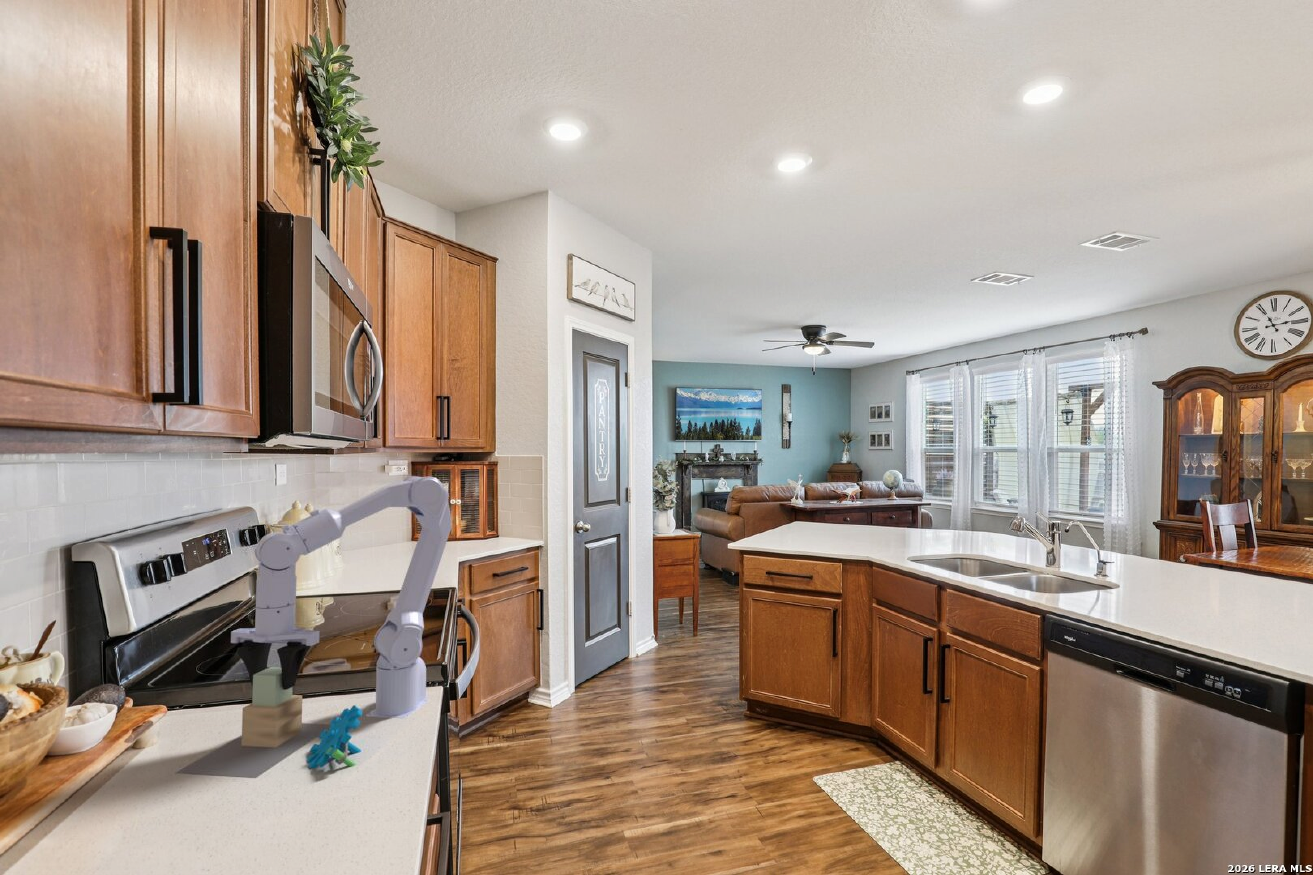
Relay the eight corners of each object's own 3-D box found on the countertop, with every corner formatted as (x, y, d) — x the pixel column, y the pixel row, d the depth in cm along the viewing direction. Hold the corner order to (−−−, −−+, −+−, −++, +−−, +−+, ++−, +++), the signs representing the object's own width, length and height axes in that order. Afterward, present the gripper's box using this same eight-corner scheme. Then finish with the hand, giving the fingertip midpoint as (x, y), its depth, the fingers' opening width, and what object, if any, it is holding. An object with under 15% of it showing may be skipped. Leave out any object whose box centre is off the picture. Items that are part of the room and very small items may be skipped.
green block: (270, 696, 103) (271, 666, 103) (292, 697, 102) (293, 667, 103) (252, 705, 99) (253, 674, 99) (274, 706, 98) (275, 675, 99)
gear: (305, 741, 97) (355, 692, 100) (333, 760, 99) (382, 711, 102) (299, 783, 87) (355, 727, 90) (331, 803, 89) (385, 748, 92)
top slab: (269, 711, 104) (270, 693, 104) (301, 713, 103) (302, 695, 103) (242, 726, 98) (242, 707, 98) (276, 728, 97) (276, 709, 97)
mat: (265, 724, 107) (265, 721, 107) (334, 728, 106) (334, 724, 106) (174, 776, 89) (174, 772, 89) (255, 781, 88) (256, 777, 88)
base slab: (268, 729, 104) (269, 711, 104) (301, 731, 103) (301, 713, 103) (241, 745, 98) (242, 726, 98) (275, 747, 97) (276, 728, 97)
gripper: (216, 609, 98) (214, 693, 98) (299, 611, 97) (297, 697, 96) (250, 599, 105) (247, 678, 105) (328, 601, 104) (326, 681, 103)
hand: (273, 686), depth 101 cm, fingers open, 5 cm apart
